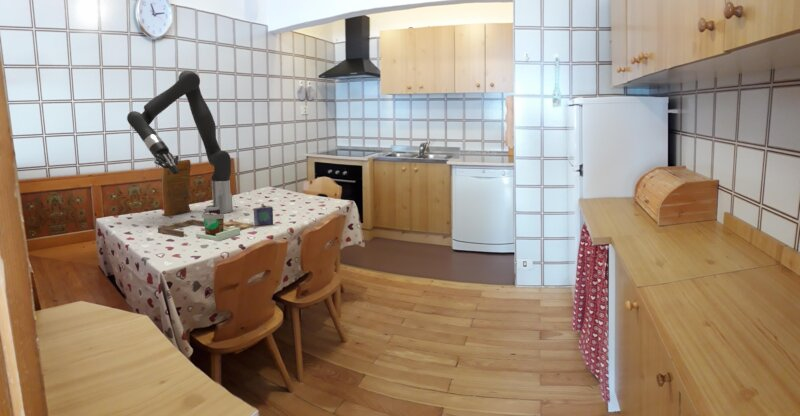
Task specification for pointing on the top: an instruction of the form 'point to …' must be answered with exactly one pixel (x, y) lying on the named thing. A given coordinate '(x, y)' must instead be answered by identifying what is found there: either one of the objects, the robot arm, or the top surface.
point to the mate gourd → (214, 207)
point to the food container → (213, 223)
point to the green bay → (221, 234)
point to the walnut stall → (169, 228)
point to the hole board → (237, 225)
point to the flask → (263, 215)
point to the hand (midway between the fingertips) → (176, 173)
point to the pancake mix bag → (176, 189)
